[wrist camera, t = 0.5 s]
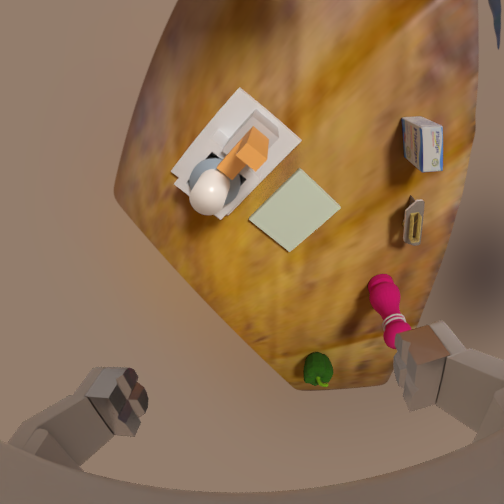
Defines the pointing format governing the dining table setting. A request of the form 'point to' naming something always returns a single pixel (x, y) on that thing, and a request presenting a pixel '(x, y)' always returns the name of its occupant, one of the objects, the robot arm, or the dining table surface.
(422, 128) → the medicine box
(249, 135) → the release bolt
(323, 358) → the bell pepper
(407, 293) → the dining table surface
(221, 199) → the cartridge
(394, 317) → the pepper mill
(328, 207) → the mat
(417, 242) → the butter dish
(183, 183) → the housing
